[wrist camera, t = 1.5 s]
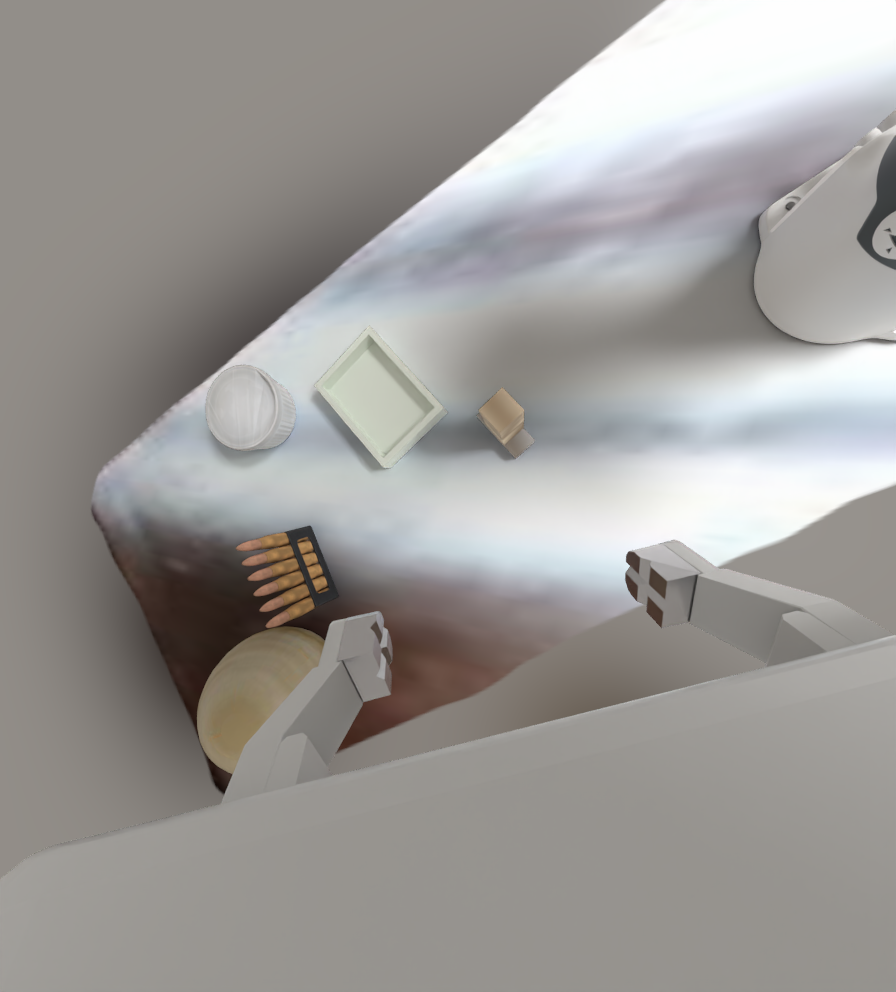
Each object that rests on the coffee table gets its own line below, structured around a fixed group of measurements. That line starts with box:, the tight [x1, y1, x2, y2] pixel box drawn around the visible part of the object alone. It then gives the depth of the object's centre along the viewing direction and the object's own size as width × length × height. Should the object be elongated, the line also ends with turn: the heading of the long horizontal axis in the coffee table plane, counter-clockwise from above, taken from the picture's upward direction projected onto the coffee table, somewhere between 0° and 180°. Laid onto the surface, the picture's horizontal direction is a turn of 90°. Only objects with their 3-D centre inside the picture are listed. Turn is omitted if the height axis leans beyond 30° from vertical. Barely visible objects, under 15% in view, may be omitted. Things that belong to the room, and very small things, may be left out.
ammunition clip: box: [236, 526, 339, 628], centre depth 40 cm, size 11×2×12 cm, turn 24°
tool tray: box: [314, 326, 448, 468], centre depth 42 cm, size 11×15×2 cm
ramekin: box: [206, 365, 296, 451], centre depth 45 cm, size 11×11×5 cm
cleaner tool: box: [476, 387, 535, 459], centre depth 35 cm, size 3×7×10 cm, turn 42°
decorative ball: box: [197, 626, 325, 774], centre depth 39 cm, size 15×15×15 cm
